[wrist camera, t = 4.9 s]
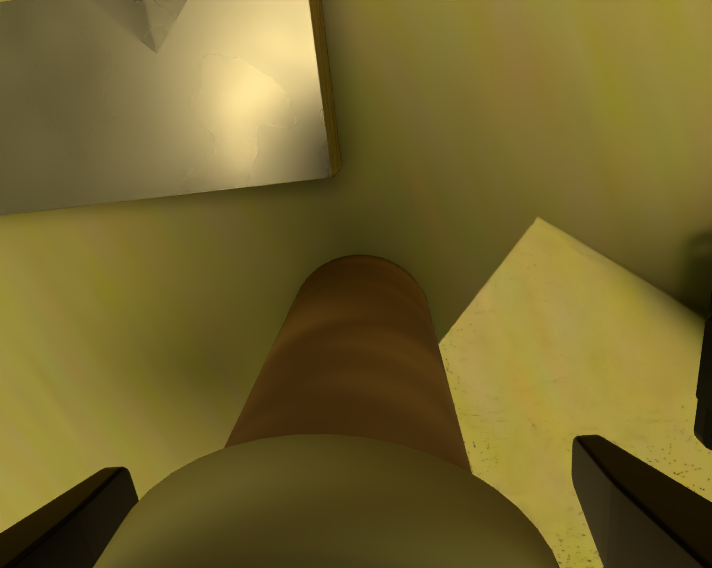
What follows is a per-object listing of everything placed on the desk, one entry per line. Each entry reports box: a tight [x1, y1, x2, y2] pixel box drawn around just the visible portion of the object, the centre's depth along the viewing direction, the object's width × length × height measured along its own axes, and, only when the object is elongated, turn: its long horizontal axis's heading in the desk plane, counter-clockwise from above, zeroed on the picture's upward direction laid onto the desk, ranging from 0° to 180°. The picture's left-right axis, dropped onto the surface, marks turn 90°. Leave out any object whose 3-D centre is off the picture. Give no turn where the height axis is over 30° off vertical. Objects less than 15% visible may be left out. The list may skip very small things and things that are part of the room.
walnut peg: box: [93, 255, 560, 568], centre depth 10 cm, size 6×6×12 cm
